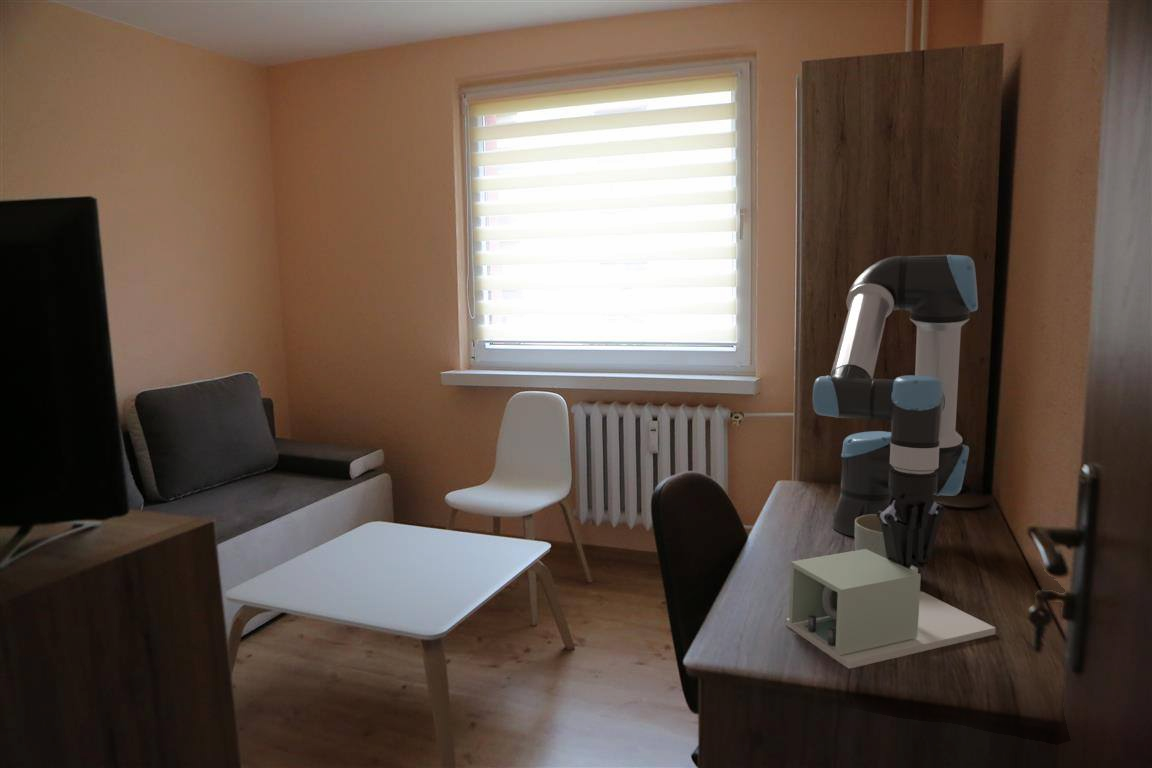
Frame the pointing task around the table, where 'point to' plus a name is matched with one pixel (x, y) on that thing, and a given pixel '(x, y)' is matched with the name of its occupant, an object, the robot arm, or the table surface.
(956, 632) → the board
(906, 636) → the hood
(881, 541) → the planter
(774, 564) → the table surface
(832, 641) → the pins
